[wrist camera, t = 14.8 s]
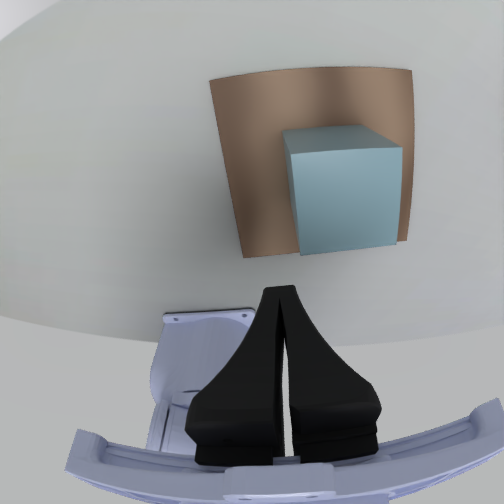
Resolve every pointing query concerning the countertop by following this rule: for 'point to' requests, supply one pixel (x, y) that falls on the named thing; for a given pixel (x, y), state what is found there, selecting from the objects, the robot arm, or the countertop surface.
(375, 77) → the post stand
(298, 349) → the robot arm
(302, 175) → the grey-blue cube
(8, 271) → the countertop surface
